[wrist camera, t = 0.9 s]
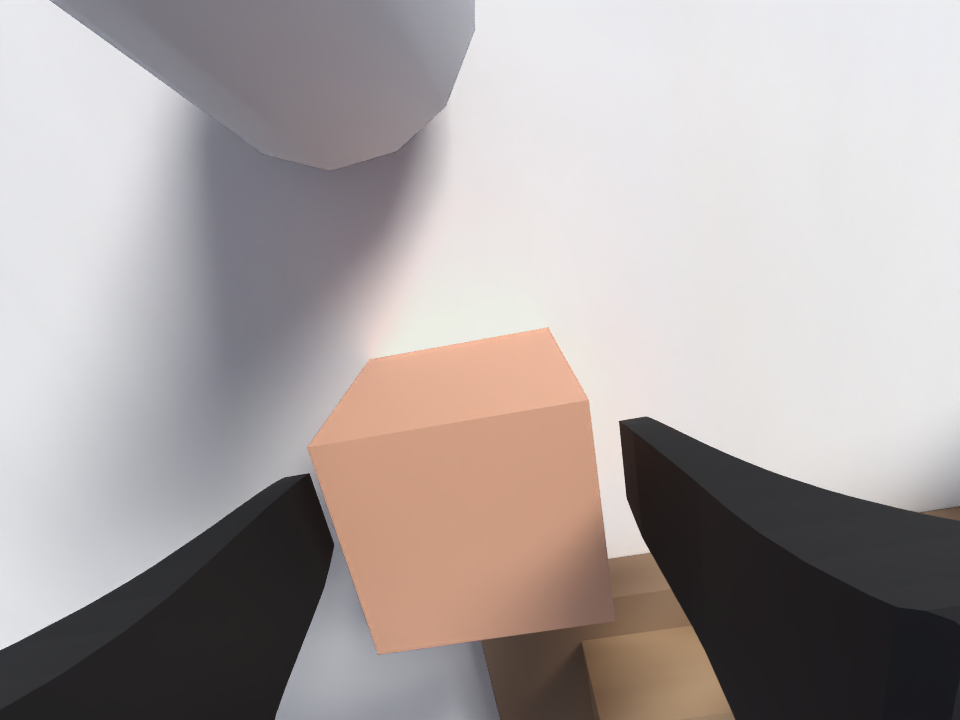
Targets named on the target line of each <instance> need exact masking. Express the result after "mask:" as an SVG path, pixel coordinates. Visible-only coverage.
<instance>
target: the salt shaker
mask: <svg viewBox="0 0 960 720" xmlns="http://www.w3.org/2000/svg"><path fill="white" fill-rule="evenodd" d="M50 1H51V2H53V3H54V4H56V5H57V6H58V7H60V8H61V9H63V10H64V11H65V12H67V13H68V14H69V15H71V16H72V17H74V18H75V19H76V20H78V21H79V22H81V23H82V24H83V25H85V26H86V27H87V28H89V29H90V30H92V31H93V32H94V33H96V34H97V35H99V36H100V37H101V38H103V39H104V40H105V41H107V42H108V43H110V44H111V45H112V46H114V47H115V48H117V49H118V50H119V51H121V52H122V53H123V54H125V55H126V56H128V57H129V58H130V59H132V60H133V61H135V62H136V63H137V64H139V65H140V66H141V67H143V68H144V69H146V70H147V71H148V72H150V73H151V74H153V75H154V76H155V77H157V78H158V79H159V80H161V81H162V82H164V83H165V84H166V85H168V86H169V87H171V88H172V89H173V90H175V91H176V92H177V93H179V94H180V95H182V96H183V97H184V98H186V99H187V100H189V101H190V102H191V103H193V104H194V105H195V106H197V107H198V108H200V109H201V110H202V111H204V112H205V113H207V114H208V115H209V116H211V117H212V118H213V119H215V120H216V121H218V122H219V123H220V124H222V125H223V126H224V127H226V128H227V129H229V130H230V131H231V132H233V133H234V134H236V135H237V136H238V137H240V138H241V139H242V140H244V141H245V142H247V143H248V144H249V145H251V146H252V147H253V148H255V149H256V150H258V151H259V152H260V153H262V154H264V155H268V156H272V157H276V158H280V159H284V160H288V161H292V162H296V163H300V164H304V165H308V166H312V167H316V168H320V169H324V170H328V171H332V170H335V169H339V168H342V167H345V166H349V165H352V164H356V163H359V162H363V161H366V160H369V159H373V158H376V157H380V156H383V155H387V154H390V153H393V152H396V151H397V150H398V149H399V148H401V147H402V146H403V145H404V144H405V143H406V142H407V141H408V140H409V139H411V138H412V137H413V136H414V135H415V134H416V133H417V132H418V131H419V130H421V129H422V128H423V127H424V126H425V125H426V124H427V123H428V122H429V121H431V120H432V119H433V118H434V117H435V116H436V115H437V114H438V113H439V112H441V111H442V110H443V109H444V108H445V106H446V104H447V102H448V99H449V97H450V94H451V91H452V89H453V86H454V83H455V81H456V78H457V76H458V73H459V70H460V68H461V65H462V62H463V60H464V57H465V55H466V52H467V49H468V47H469V44H470V41H471V39H472V36H473V33H474V31H475V0H50Z"/></svg>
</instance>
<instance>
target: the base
mask: <svg viewBox="0 0 960 720" xmlns="http://www.w3.org/2000/svg"><path fill="white" fill-rule="evenodd" d="M921 513H922V514H927V515H932V516H936V517H942V518H947V519H953V520H958V521H960V507H955V508H948V509H941V510H935V511H928V512H921ZM608 565H609V573H610V582H611V590H612V598H613V607H614V615H615V621H613V622H606V623H598V624H591V625H584V626H577V627H570V628H563V629H556V630H549V631H542V632H535V633H528V634H521V635H514V636H506V637H499V638H492V639H485V640H481V642H482V646H483V650H484V654H485V658H486V663H487V667H488V671H489V675H490V679H491V683H492V687H493V691H494V695H495V699H496V704H497V708H498V712H499V716H500V720H735V718H734V716H733V713H732V711H731V709H730V706H729V704H728V702H727V700H726V697H725V695H724V693H723V691H722V688H721V686H720V684H719V682H718V679H717V677H716V675H715V673H714V670H713V668H712V666H711V664H710V661H709V659H708V657H707V655H706V652H705V650H704V648H703V647H702V645H701V643H700V641H699V639H698V637H697V635H696V633H695V631H694V629H693V627H692V625H691V624H690V622H689V620H688V618H687V616H686V615H685V613H684V611H683V609H682V608H681V606H680V604H679V602H678V600H677V599H676V597H675V595H674V593H673V592H672V590H671V588H670V586H669V584H668V583H667V581H666V579H665V577H664V575H663V574H662V572H661V570H660V568H659V567H658V565H657V563H656V561H655V559H654V558H653V556H652V554H651V553H647V554H640V555H634V556H627V557H620V558H614V559H608Z"/></svg>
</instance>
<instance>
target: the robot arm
mask: <svg viewBox="0 0 960 720" xmlns="http://www.w3.org/2000/svg"><path fill="white" fill-rule="evenodd" d="M619 425H620V436H621V446H622V456H623V466H624V476H625V486H626V496H627V500H628V503H629V505H630V508H631V510H632V513H633V516H634V518H635V521H636V523H637V525H638V528H639V530H640V533H641V535H642V537H643V539H644V541H645V543H646V545H647V547H648V548H649V550H650V552H651V554H652V556H653V558H654V559H655V561H656V563H657V565H658V567H659V568H660V570H661V572H662V574H663V575H664V577H665V579H666V581H667V583H668V584H669V586H670V588H671V590H672V592H673V593H674V595H675V597H676V599H677V600H678V602H679V604H680V606H681V608H682V609H683V611H684V613H685V615H686V616H687V618H688V620H689V622H690V624H691V625H692V627H693V629H694V631H695V633H696V635H697V637H698V639H699V641H700V643H701V645H702V647H703V648H704V650H705V652H706V655H707V657H708V659H709V661H710V664H711V666H712V668H713V670H714V673H715V675H716V677H717V679H718V682H719V684H720V686H721V688H722V691H723V693H724V695H725V697H726V700H727V702H728V704H729V706H730V709H731V711H732V713H733V716H734V718H735V720H960V521H958V520H953V519H947V518H942V517H936V516H932V515H927V514H922V513H917V512H913V511H908V510H903V509H899V508H895V507H891V506H887V505H882V504H878V503H874V502H870V501H866V500H862V499H858V498H854V497H850V496H847V495H843V494H840V493H836V492H832V491H829V490H825V489H822V488H819V487H816V486H813V485H810V484H807V483H803V482H800V481H797V480H794V479H791V478H788V477H785V476H782V475H779V474H777V473H774V472H771V471H768V470H766V469H763V468H761V467H758V466H756V465H753V464H751V463H748V462H746V461H743V460H741V459H738V458H736V457H733V456H731V455H729V454H726V453H724V452H722V451H720V450H717V449H715V448H713V447H711V446H709V445H706V444H704V443H702V442H700V441H698V440H696V439H694V438H692V437H690V436H688V435H685V434H683V433H681V432H679V431H677V430H675V429H673V428H671V427H669V426H667V425H665V424H663V423H661V422H659V421H656V420H654V419H652V418H649V417H640V418H634V419H629V420H623V421H619ZM333 548H334V543H333V540H332V537H331V534H330V531H329V528H328V526H327V523H326V520H325V517H324V514H323V511H322V508H321V505H320V502H319V500H318V497H317V494H316V491H315V488H314V485H313V482H312V479H311V476H310V474H309V473H308V474H302V475H296V476H291V477H285V478H283V479H281V480H279V481H277V482H275V483H274V484H272V485H270V486H269V487H267V488H266V489H264V490H263V491H261V492H260V493H258V494H257V495H255V496H254V497H252V498H251V499H250V500H248V501H247V502H245V503H244V504H243V505H241V506H240V507H238V508H237V509H236V510H234V511H233V512H231V513H230V514H229V515H227V516H226V517H224V518H223V519H222V520H220V521H219V522H217V523H216V524H214V525H213V526H212V527H210V528H209V529H207V530H206V531H205V532H203V533H202V534H200V535H199V536H197V537H196V538H194V539H193V540H191V541H190V542H188V543H187V544H185V545H184V546H183V547H181V548H180V549H178V550H177V551H175V552H174V553H172V554H171V555H169V556H168V557H166V558H165V559H163V560H162V561H160V562H159V563H157V564H156V565H154V566H153V567H151V568H149V569H148V570H146V571H145V572H143V573H142V574H140V575H138V576H137V577H135V578H133V579H132V580H130V581H129V582H127V583H125V584H123V585H122V586H120V587H118V588H117V589H115V590H113V591H112V592H110V593H108V594H106V595H105V596H103V597H101V598H100V599H98V600H96V601H94V602H93V603H91V604H89V605H87V606H85V607H84V608H82V609H80V610H78V611H76V612H74V613H72V614H70V615H68V616H66V617H65V618H63V619H61V620H59V621H57V622H55V623H53V624H51V625H49V626H47V627H45V628H44V629H42V630H40V631H38V632H36V633H34V634H32V635H30V636H28V637H26V638H24V639H23V640H21V641H19V642H17V643H15V644H13V645H11V646H9V647H6V648H4V649H2V650H0V720H275V716H276V713H277V710H278V707H279V704H280V701H281V699H282V696H283V693H284V690H285V687H286V685H287V682H288V680H289V677H290V675H291V672H292V669H293V667H294V664H295V662H296V659H297V657H298V654H299V652H300V649H301V646H302V644H303V641H304V639H305V636H306V634H307V631H308V629H309V626H310V624H311V621H312V618H313V616H314V613H315V610H316V608H317V605H318V603H319V600H320V597H321V595H322V592H323V589H324V586H325V582H326V578H327V575H328V571H329V567H330V562H331V557H332V553H333Z"/></svg>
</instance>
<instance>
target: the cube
mask: <svg viewBox="0 0 960 720" xmlns="http://www.w3.org/2000/svg"><path fill="white" fill-rule="evenodd" d="M307 448H308V451H309V454H310V457H311V460H312V463H313V466H314V469H315V472H316V475H317V477H318V480H319V483H320V486H321V489H322V492H323V495H324V498H325V501H326V504H327V507H328V510H329V513H330V516H331V518H332V521H333V524H334V527H335V530H336V533H337V536H338V539H339V542H340V545H341V548H342V551H343V554H344V556H345V559H346V562H347V565H348V568H349V571H350V574H351V577H352V580H353V583H354V586H355V589H356V592H357V595H358V597H359V600H360V603H361V606H362V609H363V612H364V615H365V618H366V621H367V624H368V627H369V630H370V633H371V635H372V638H373V641H374V644H375V647H376V650H377V653H378V655H379V654H386V653H393V652H400V651H407V650H415V649H422V648H429V647H436V646H443V645H450V644H457V643H464V642H471V641H478V640H485V639H492V638H499V637H506V636H514V635H521V634H528V633H535V632H542V631H549V630H556V629H563V628H570V627H577V626H584V625H591V624H598V623H606V622H613V621H615V615H614V607H613V598H612V590H611V582H610V573H609V565H608V557H607V548H606V540H605V532H604V523H603V515H602V507H601V498H600V490H599V482H598V473H597V465H596V457H595V448H594V440H593V432H592V423H591V415H590V407H589V400H588V398H587V396H586V394H585V392H584V391H583V389H582V387H581V385H580V384H579V382H578V380H577V378H576V376H575V375H574V373H573V371H572V369H571V367H570V366H569V364H568V362H567V360H566V359H565V357H564V355H563V353H562V351H561V350H560V348H559V346H558V344H557V343H556V341H555V339H554V337H553V335H552V334H551V332H550V330H549V328H543V329H537V330H532V331H526V332H521V333H515V334H509V335H504V336H498V337H493V338H487V339H481V340H476V341H470V342H465V343H459V344H453V345H448V346H442V347H437V348H431V349H425V350H420V351H414V352H409V353H403V354H398V355H392V356H386V357H381V358H375V359H370V360H369V361H368V362H367V364H366V365H365V367H364V368H363V369H362V371H361V372H360V374H359V375H358V376H357V378H356V379H355V381H354V382H353V384H352V385H351V386H350V388H349V389H348V391H347V392H346V393H345V395H344V396H343V398H342V399H341V400H340V402H339V403H338V405H337V406H336V408H335V409H334V410H333V412H332V413H331V415H330V416H329V417H328V419H327V420H326V422H325V423H324V424H323V426H322V427H321V429H320V430H319V432H318V433H317V434H316V436H315V437H314V439H313V440H312V441H311V443H310V444H309V446H308V447H307Z"/></svg>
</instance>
